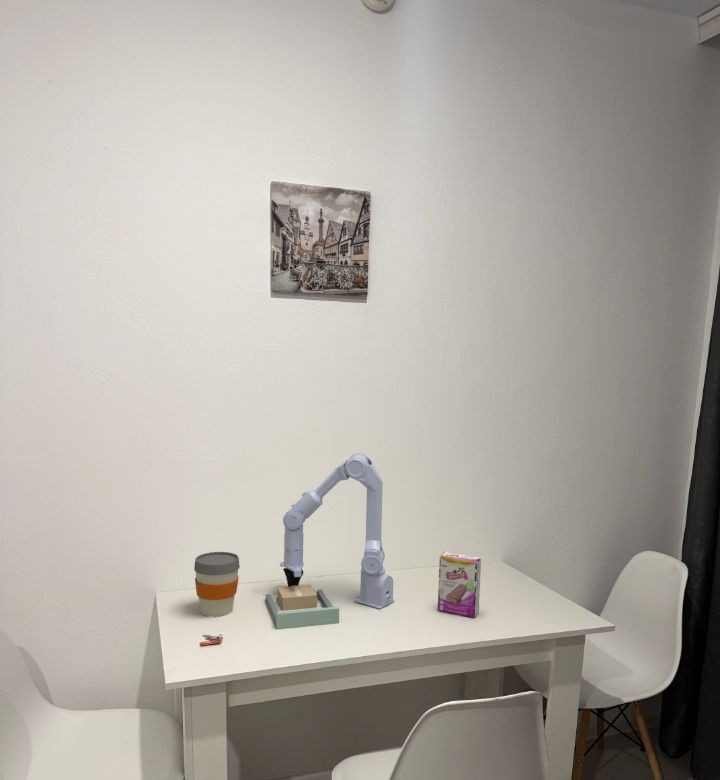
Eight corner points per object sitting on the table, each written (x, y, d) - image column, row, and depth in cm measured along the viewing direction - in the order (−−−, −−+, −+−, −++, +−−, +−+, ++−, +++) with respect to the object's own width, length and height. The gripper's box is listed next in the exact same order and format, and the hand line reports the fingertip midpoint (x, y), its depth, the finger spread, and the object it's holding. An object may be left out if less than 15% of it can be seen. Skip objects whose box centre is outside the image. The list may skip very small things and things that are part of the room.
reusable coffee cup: (200, 601, 187) (201, 550, 186) (243, 602, 187) (243, 552, 186) (187, 618, 174) (188, 564, 174) (233, 620, 174) (234, 566, 173)
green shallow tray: (265, 600, 189) (265, 587, 188) (321, 595, 194) (321, 582, 193) (276, 629, 169) (277, 614, 169) (338, 622, 174) (339, 608, 174)
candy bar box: (436, 611, 183) (438, 555, 183) (442, 605, 188) (443, 551, 187) (475, 619, 179) (477, 561, 178) (479, 613, 183) (481, 556, 182)
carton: (277, 600, 190) (277, 586, 190) (310, 597, 193) (310, 584, 193) (282, 611, 181) (282, 597, 181) (316, 608, 184) (317, 594, 184)
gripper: (276, 542, 198) (275, 585, 199) (284, 556, 184) (283, 602, 185) (298, 541, 200) (298, 583, 201) (308, 554, 186) (307, 600, 187)
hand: (292, 592), depth 193 cm, fingers closed
